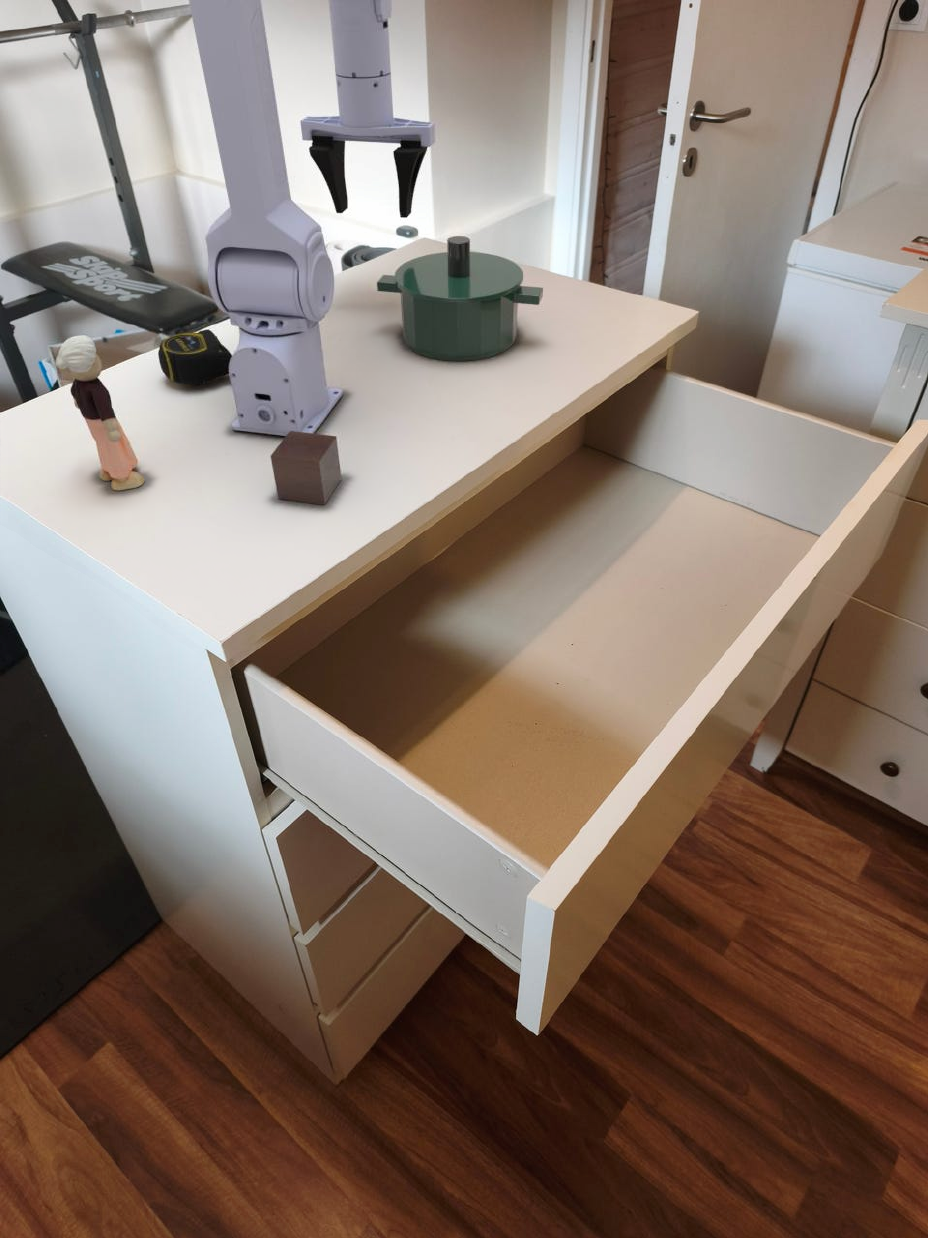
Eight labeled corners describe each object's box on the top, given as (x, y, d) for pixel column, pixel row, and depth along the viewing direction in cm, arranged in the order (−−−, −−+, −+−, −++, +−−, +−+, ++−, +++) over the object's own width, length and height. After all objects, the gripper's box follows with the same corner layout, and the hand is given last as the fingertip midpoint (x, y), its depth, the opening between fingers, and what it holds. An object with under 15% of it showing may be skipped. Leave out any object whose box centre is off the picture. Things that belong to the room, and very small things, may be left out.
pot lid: (508, 314, 86) (510, 267, 83) (378, 302, 88) (375, 257, 85) (533, 266, 96) (535, 223, 92) (415, 257, 98) (413, 214, 95)
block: (324, 505, 71) (318, 461, 68) (277, 498, 72) (269, 455, 69) (341, 478, 74) (336, 435, 71) (296, 472, 75) (289, 430, 72)
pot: (528, 368, 90) (530, 307, 85) (366, 352, 93) (360, 293, 89) (547, 321, 99) (551, 264, 94) (399, 308, 102) (396, 252, 98)
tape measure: (239, 382, 88) (233, 347, 85) (173, 397, 85) (164, 362, 83) (221, 357, 92) (214, 323, 90) (157, 370, 90) (148, 336, 87)
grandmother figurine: (164, 480, 74) (124, 340, 66) (127, 500, 72) (81, 358, 63) (112, 453, 78) (67, 316, 69) (75, 471, 75) (24, 332, 67)
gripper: (440, 68, 89) (443, 206, 99) (311, 63, 92) (326, 198, 101) (422, 81, 84) (427, 225, 93) (286, 76, 87) (304, 216, 96)
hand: (373, 212), depth 97 cm, fingers open, 7 cm apart
